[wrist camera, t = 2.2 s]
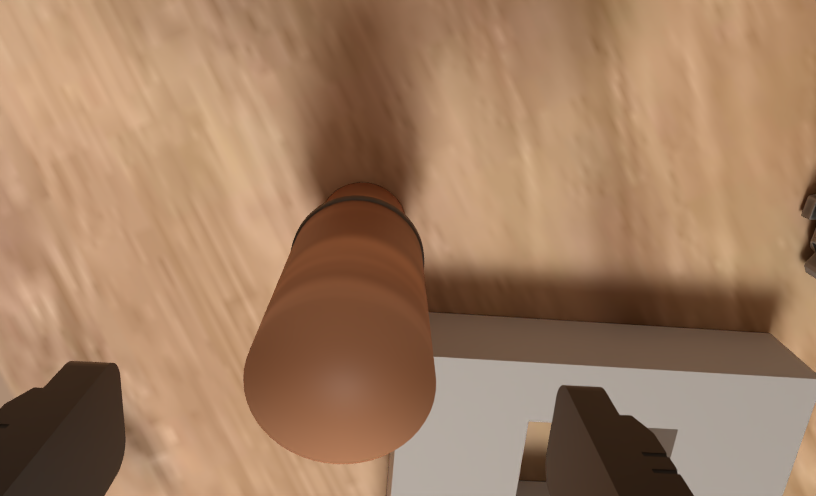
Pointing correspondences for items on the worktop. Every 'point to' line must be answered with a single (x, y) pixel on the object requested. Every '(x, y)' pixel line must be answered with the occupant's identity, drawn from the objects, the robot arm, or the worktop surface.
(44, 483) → the robot arm
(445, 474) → the jig board
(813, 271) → the handgun
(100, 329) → the worktop surface
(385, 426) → the cherry peg
